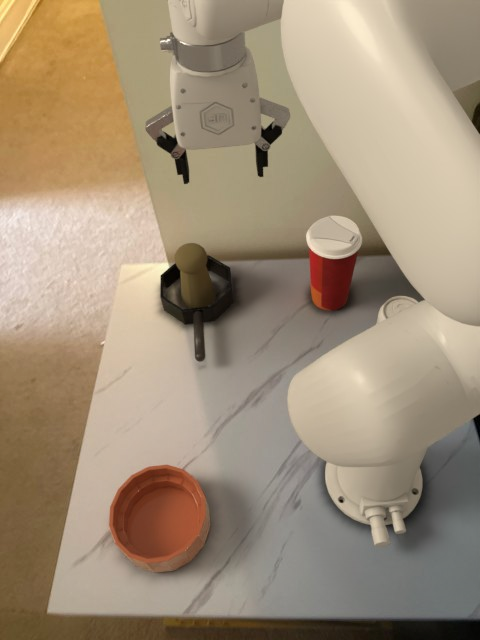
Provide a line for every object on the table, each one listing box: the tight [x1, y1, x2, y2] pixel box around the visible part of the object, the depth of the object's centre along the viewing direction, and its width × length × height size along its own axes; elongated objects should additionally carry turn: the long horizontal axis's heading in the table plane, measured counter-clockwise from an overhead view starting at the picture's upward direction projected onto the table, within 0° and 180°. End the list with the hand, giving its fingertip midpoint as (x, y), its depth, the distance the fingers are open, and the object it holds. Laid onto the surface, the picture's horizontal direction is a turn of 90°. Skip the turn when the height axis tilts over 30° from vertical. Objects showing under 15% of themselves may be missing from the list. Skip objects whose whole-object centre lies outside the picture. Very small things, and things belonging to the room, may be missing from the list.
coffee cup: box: [305, 215, 363, 312], centre depth 89 cm, size 8×8×15 cm
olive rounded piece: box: [174, 242, 217, 309], centre depth 93 cm, size 6×6×11 cm
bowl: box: [108, 464, 211, 574], centre depth 72 cm, size 12×12×5 cm
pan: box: [159, 254, 235, 363], centre depth 93 cm, size 21×12×4 cm, turn 5°
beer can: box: [375, 295, 419, 325], centre depth 79 cm, size 6×6×15 cm
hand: (223, 173), depth 74 cm, fingers open, 9 cm apart
